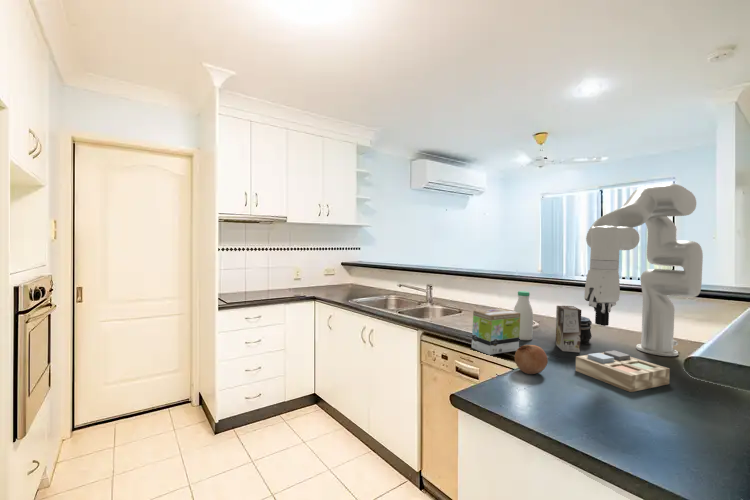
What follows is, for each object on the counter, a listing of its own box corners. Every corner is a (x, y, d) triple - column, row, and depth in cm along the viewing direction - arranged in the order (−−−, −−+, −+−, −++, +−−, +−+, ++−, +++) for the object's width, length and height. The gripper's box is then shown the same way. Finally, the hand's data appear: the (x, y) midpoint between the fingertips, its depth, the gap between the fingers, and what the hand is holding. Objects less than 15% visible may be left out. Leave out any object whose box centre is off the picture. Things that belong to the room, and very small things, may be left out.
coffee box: (580, 352, 132) (582, 309, 132) (562, 351, 133) (563, 308, 133) (572, 345, 141) (573, 305, 141) (554, 344, 142) (556, 304, 142)
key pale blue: (598, 361, 114) (598, 352, 114) (613, 367, 109) (614, 357, 109) (587, 363, 112) (587, 354, 112) (602, 369, 107) (602, 359, 107)
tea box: (490, 356, 127) (491, 315, 126) (471, 348, 135) (472, 310, 135) (519, 350, 133) (521, 311, 133) (499, 343, 142) (500, 307, 142)
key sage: (638, 372, 110) (638, 362, 110) (655, 378, 105) (656, 368, 105) (627, 374, 108) (627, 364, 108) (644, 380, 103) (645, 370, 103)
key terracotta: (621, 375, 107) (622, 365, 107) (639, 381, 102) (639, 371, 102) (610, 377, 105) (610, 367, 105) (627, 383, 100) (628, 373, 100)
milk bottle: (533, 337, 152) (534, 291, 152) (530, 341, 146) (532, 293, 145) (514, 334, 156) (515, 289, 156) (511, 338, 150) (512, 291, 149)
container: (580, 347, 139) (581, 322, 139) (550, 339, 150) (550, 315, 150) (598, 343, 146) (598, 319, 146) (567, 335, 157) (568, 313, 157)
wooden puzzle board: (611, 364, 120) (612, 351, 119) (669, 384, 104) (669, 368, 104) (575, 370, 113) (576, 356, 113) (630, 392, 97) (631, 375, 97)
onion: (521, 384, 109) (509, 356, 108) (520, 366, 118) (509, 340, 116) (554, 378, 105) (542, 349, 104) (550, 360, 114) (539, 333, 112)
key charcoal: (614, 359, 117) (614, 350, 116) (629, 364, 112) (630, 355, 112) (603, 361, 115) (604, 351, 115) (619, 366, 110) (619, 356, 110)
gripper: (608, 265, 116) (606, 320, 116) (575, 265, 110) (573, 323, 111) (632, 266, 109) (630, 326, 109) (598, 266, 103) (596, 329, 104)
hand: (601, 324), depth 110 cm, fingers closed
